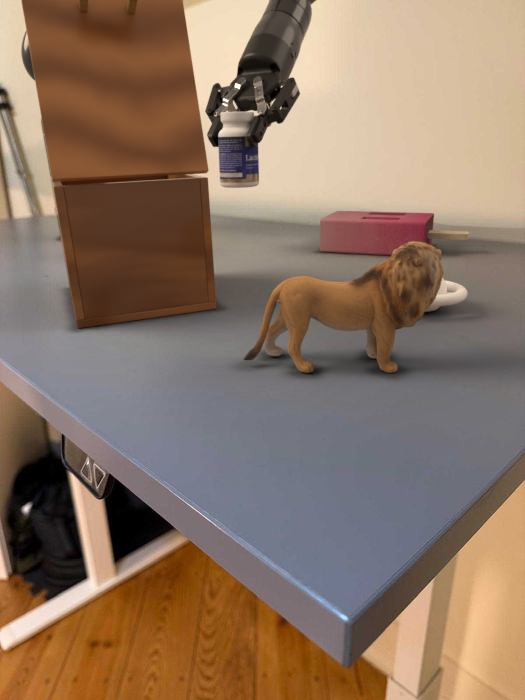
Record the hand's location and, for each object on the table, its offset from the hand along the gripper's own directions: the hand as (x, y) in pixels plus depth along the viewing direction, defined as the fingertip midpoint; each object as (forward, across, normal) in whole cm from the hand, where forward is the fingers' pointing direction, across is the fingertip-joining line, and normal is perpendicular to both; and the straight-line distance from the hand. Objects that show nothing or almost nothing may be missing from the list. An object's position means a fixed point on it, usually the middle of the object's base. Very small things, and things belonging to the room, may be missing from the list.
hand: (231, 142), depth 75 cm
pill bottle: (+3, 0, +6) cm, 7 cm away
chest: (+29, +3, -7) cm, 30 cm away
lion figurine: (+33, +30, -12) cm, 46 cm away
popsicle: (+4, +21, +18) cm, 28 cm away
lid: (+16, +6, -24) cm, 29 cm away
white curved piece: (+22, +32, -1) cm, 39 cm away
